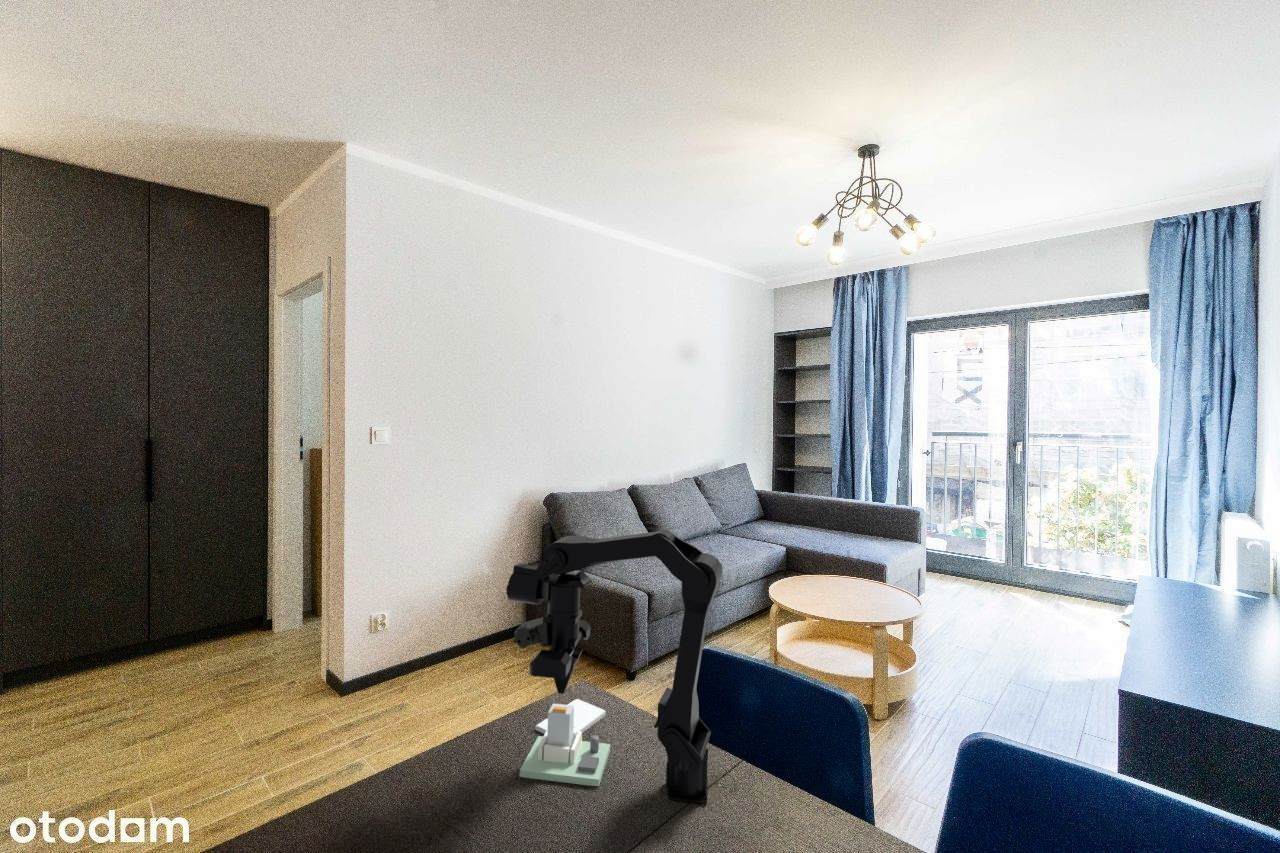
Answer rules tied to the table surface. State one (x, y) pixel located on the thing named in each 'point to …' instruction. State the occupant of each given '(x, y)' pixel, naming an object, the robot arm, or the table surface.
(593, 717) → the external hard drive
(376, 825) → the table surface
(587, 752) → the board
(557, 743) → the plug
